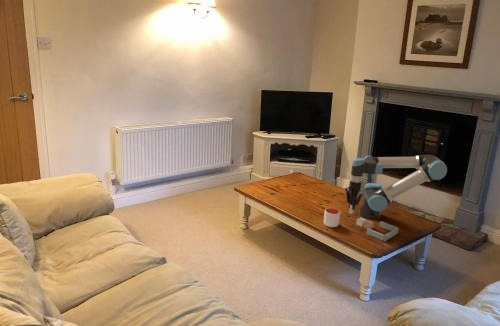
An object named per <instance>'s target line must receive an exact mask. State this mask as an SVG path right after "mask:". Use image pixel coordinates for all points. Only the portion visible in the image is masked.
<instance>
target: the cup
mask: <svg viewBox="0 0 500 326" xmlns="http://www.w3.org/2000/svg"><path fill="white" fill-rule="evenodd" d="M340 217H341V211H340V210H339V209H338V208H335V207H328V208H325V210H324V216H323V224H324V225H325V226H326V227H329V228H337V227H338V226H339V224H340Z"/></svg>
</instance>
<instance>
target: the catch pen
mask: <svg viewBox="0 0 500 326" xmlns="http://www.w3.org/2000/svg"><path fill="white" fill-rule="evenodd" d="M379 227H380V228H382V229H385V230H388V231H389V232H387V233H386V234H384V233H381V232H378V231H376V230H374V229H366V231H365V232H366V235H368V236H371V237H373V238H376V239H378V240H380V241H382V242H387V241H388V240H389V239H391V238H392V237H395V236H396V235H397V234H399V230H400V227H398V226H394V225H392V224H389V223H387V222H384V221H379Z"/></svg>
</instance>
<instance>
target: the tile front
mask: <svg viewBox="0 0 500 326" xmlns="http://www.w3.org/2000/svg"><path fill="white" fill-rule="evenodd" d="M362 228H364V229H366V230H367V229H371V230H373V229H374V222H373V221H371V220H368V219H366V221H365V222H364V226H363V227H362Z"/></svg>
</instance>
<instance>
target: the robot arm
mask: <svg viewBox="0 0 500 326" xmlns="http://www.w3.org/2000/svg"><path fill="white" fill-rule="evenodd" d="M411 168H412V169H416V171H414V172H412V173H410V174H408V175H407V176H405V177H403V178H401V179H399V180H398V181H396V182H394V183H392V184H390V185H389V186H386V187H383V185H381V184H380V183H374V182H368V183H366V184H364V191H363V192H362V190H361V187H362V180H363V174H365V175H366V174H368V175H375V176H376V175H382V173H383V171H384V170H383V169H411ZM447 172H448V167H447V165H446V164H445V162H444V161H442V160H441V159H440V158H439V157H437V156H435V155H433V154H432V155H431V154H417V155H415V156H381V157H380V156H377V157H376V156H375V157H374V156H372V155H366V156H365V157H364V158H363V157H354V158H353V159H352V165H351V172H350V177H349V179H350V180H349V183H348V184H349V185H348V187H346V188H345V189H344V190H345V192H346V193H345V194H346V203H347V204H348V209H349V211H348V214H350V215H352V214H354V210H355V208H356V206H358V205H359V203H360V200H361V199H362V196H363V199H362V203H361V205H360V207H359V210H358V214H359V216H361V217H362V218H364V219H371V220H372V219H373V220H375V219H380V218H381V215H382V213H381V212H383V211H385V210H386V209H387V207H388V205H390V204H391V203H392V201H393V200H394V199H396V198H397V197H399V196H401V195H403V194H406V193H407V192H408V191H410V190H412V189H415V188H416V187H418V186H419V185H421V184H423V183H425V182H429V183H430V182H432V181H434V180H435V181H436V180H437V181H439V180H442V179H443V178H445V176H447Z"/></svg>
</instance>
